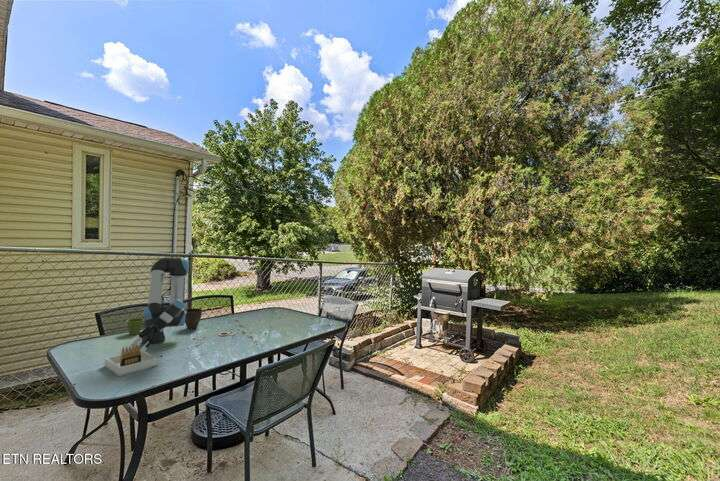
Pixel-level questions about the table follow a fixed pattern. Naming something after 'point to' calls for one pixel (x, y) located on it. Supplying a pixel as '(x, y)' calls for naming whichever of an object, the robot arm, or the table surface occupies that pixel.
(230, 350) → the table surface
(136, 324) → the plant pot
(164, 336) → the robot arm
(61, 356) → the table surface
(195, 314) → the plant pot
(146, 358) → the box
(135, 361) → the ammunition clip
